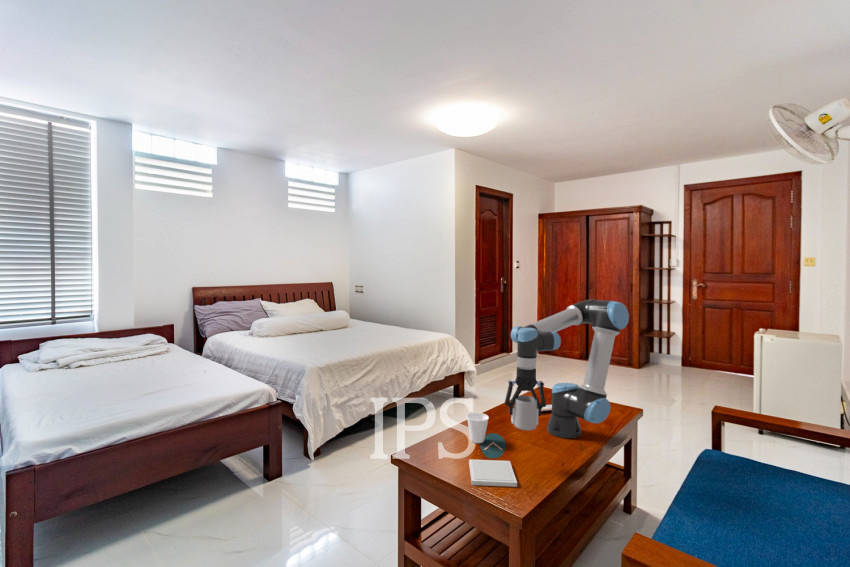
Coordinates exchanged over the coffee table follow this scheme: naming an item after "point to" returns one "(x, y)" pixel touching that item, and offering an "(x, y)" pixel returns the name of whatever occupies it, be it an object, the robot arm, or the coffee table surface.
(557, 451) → the coffee table surface
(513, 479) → the plate
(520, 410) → the mug
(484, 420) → the cup
